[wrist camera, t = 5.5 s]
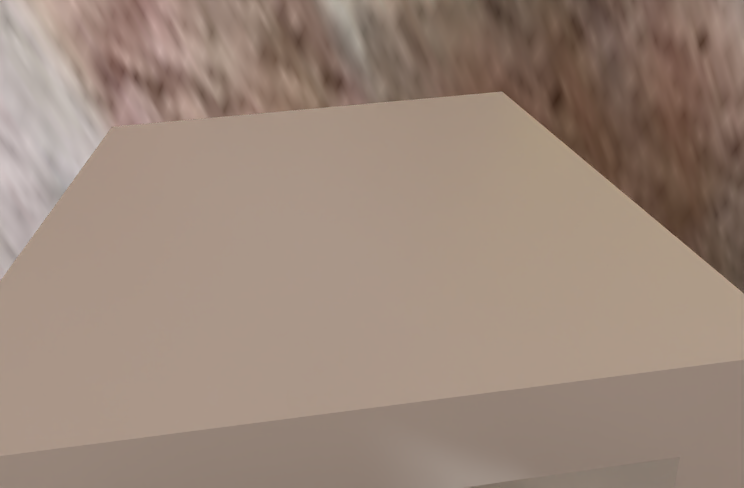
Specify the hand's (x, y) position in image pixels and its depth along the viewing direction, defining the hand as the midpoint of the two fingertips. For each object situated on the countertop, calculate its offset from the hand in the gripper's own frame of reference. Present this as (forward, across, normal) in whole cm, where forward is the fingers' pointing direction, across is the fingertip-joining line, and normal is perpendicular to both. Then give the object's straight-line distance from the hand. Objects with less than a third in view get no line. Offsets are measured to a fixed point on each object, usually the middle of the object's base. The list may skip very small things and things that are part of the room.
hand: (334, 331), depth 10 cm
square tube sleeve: (+2, 0, 0) cm, 2 cm away
